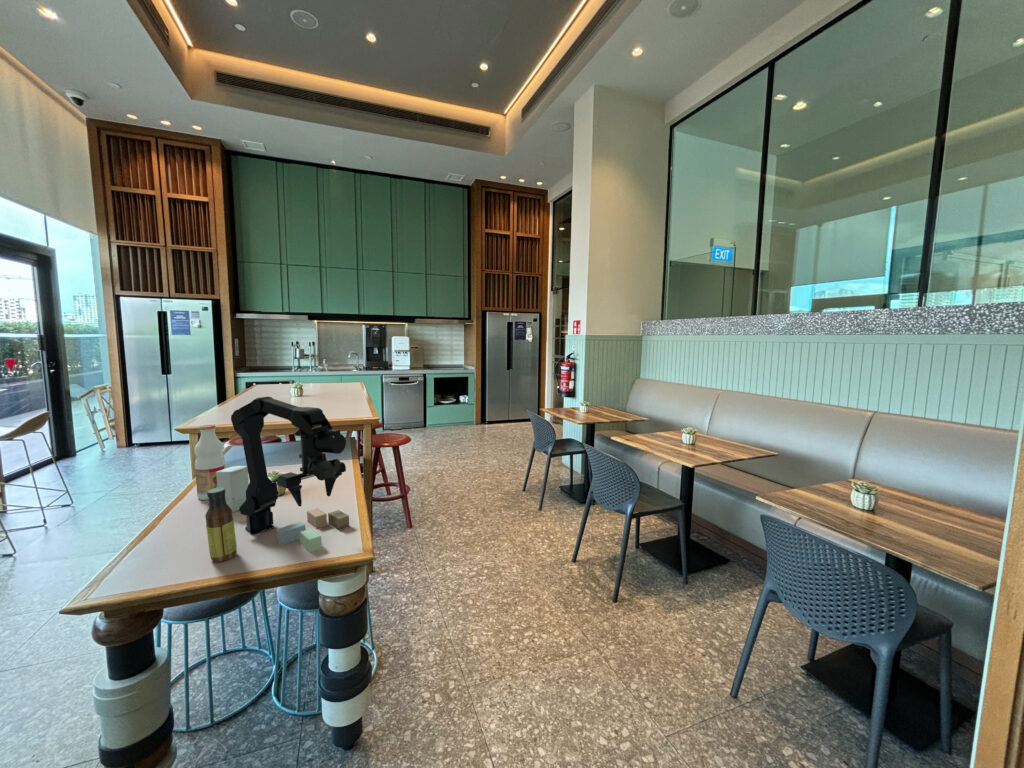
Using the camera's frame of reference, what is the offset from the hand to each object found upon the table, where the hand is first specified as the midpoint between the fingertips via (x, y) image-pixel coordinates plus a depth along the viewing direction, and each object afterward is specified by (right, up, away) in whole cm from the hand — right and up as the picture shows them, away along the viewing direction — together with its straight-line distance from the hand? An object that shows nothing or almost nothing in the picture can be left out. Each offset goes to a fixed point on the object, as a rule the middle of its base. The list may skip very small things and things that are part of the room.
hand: (314, 501), depth 123 cm
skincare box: (-41, -10, +25) cm, 49 cm away
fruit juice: (-58, -9, +36) cm, 69 cm away
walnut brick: (+2, -12, +11) cm, 16 cm away
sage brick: (0, -13, -2) cm, 13 cm away
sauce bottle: (-21, -14, -9) cm, 27 cm away
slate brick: (-8, -12, +2) cm, 15 cm away
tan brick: (-5, -11, +13) cm, 18 cm away
